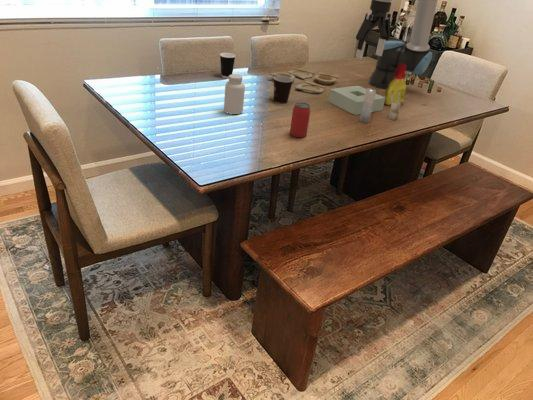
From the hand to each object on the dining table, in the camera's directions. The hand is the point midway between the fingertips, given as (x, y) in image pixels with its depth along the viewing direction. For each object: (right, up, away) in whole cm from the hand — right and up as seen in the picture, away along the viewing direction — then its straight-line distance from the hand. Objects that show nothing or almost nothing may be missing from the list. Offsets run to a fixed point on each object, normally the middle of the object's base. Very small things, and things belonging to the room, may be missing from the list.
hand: (368, 56), depth 177 cm
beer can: (-30, -33, -9) cm, 46 cm away
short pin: (+15, -22, +18) cm, 32 cm away
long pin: (0, -24, +11) cm, 27 cm away
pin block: (0, -14, +26) cm, 30 cm away
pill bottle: (-56, -22, +4) cm, 60 cm away
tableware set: (-22, +3, +51) cm, 56 cm away
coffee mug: (-35, -12, +23) cm, 44 cm away
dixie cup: (-62, +4, +44) cm, 76 cm away
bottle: (+19, -12, +35) cm, 42 cm away
